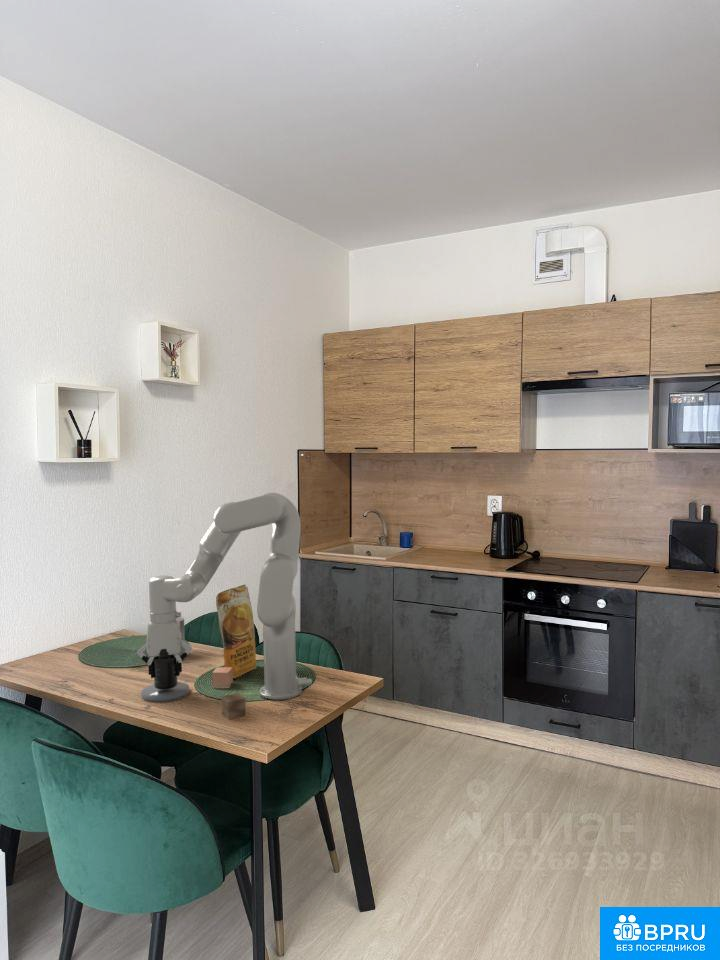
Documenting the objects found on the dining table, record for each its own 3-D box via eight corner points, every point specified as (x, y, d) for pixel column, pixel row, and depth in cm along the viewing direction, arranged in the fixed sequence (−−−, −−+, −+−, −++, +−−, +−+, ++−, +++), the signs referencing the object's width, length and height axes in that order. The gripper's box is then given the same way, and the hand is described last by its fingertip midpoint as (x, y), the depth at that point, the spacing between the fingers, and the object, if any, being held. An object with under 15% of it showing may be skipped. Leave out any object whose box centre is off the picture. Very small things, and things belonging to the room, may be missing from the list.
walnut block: (239, 710, 191) (238, 692, 191) (245, 716, 187) (245, 698, 187) (222, 714, 189) (221, 696, 188) (228, 720, 184) (227, 702, 184)
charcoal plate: (190, 683, 214) (190, 680, 214) (188, 699, 200) (188, 695, 200) (143, 687, 211) (143, 683, 211) (138, 704, 197) (138, 700, 197)
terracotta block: (232, 683, 214) (232, 667, 214) (228, 688, 209) (228, 672, 209) (217, 683, 214) (216, 667, 214) (212, 688, 209) (212, 672, 209)
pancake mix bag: (211, 680, 217) (208, 593, 216) (248, 663, 233) (246, 582, 232) (227, 683, 214) (225, 594, 212) (264, 665, 230) (262, 583, 229)
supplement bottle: (168, 680, 210) (167, 642, 210) (182, 685, 206) (180, 645, 205) (149, 686, 205) (147, 647, 204) (162, 691, 200) (161, 651, 200)
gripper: (193, 612, 210) (195, 669, 211) (134, 616, 206) (137, 674, 207) (192, 618, 202) (194, 677, 203) (131, 622, 199) (133, 682, 200)
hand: (165, 675), depth 205 cm, fingers closed on supplement bottle, 6 cm apart
